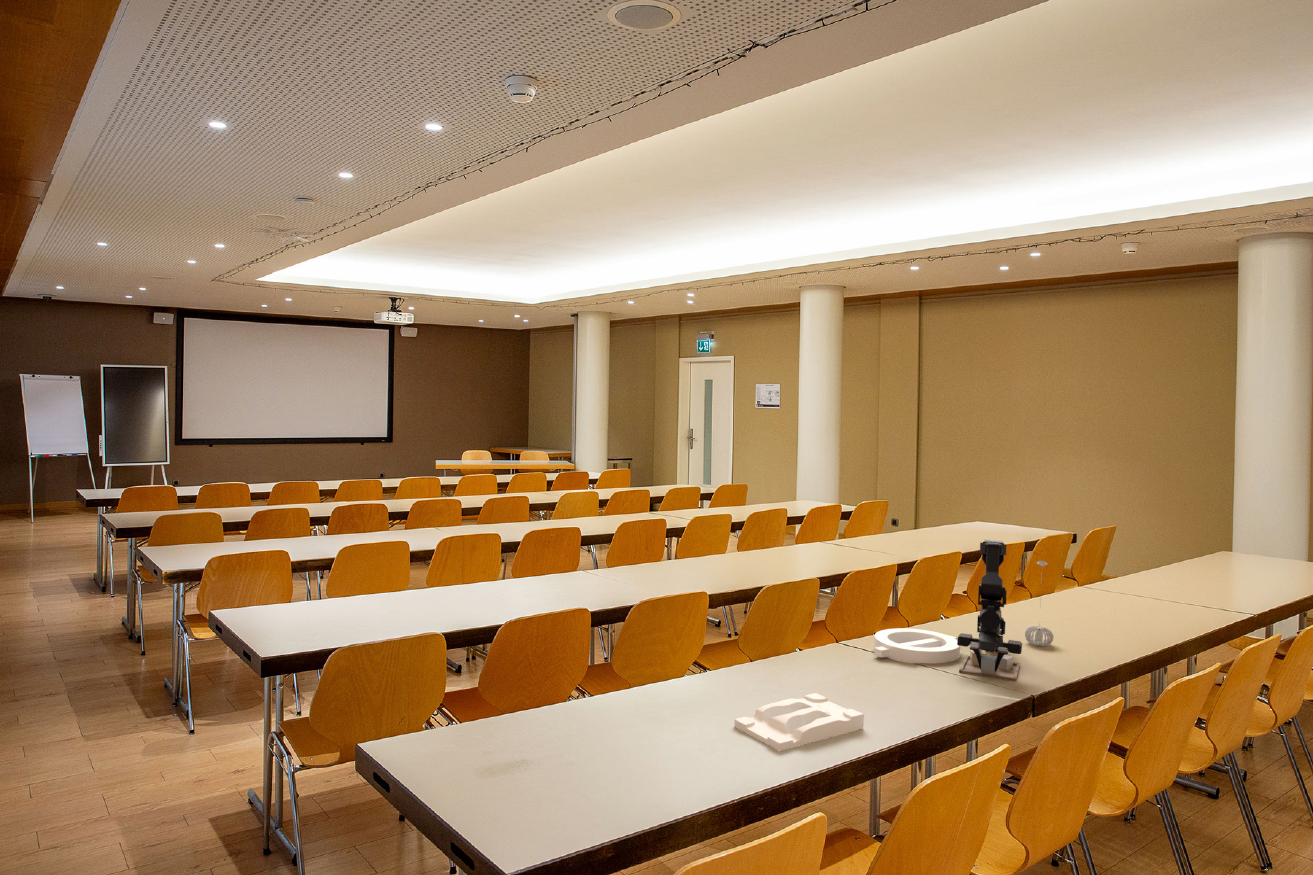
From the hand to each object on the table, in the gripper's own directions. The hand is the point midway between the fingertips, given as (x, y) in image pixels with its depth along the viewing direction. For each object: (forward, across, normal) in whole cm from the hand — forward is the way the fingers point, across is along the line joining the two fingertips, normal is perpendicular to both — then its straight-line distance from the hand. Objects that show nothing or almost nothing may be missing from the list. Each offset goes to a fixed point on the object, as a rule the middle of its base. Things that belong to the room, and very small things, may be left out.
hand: (988, 670), depth 265 cm
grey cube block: (+1, 0, 0) cm, 1 cm away
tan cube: (+1, -4, +9) cm, 10 cm away
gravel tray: (+1, 0, +5) cm, 5 cm away
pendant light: (+2, +12, +46) cm, 48 cm away
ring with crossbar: (+2, -24, +14) cm, 28 cm away
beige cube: (+1, +4, +9) cm, 10 cm away
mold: (+2, -39, -73) cm, 83 cm away
